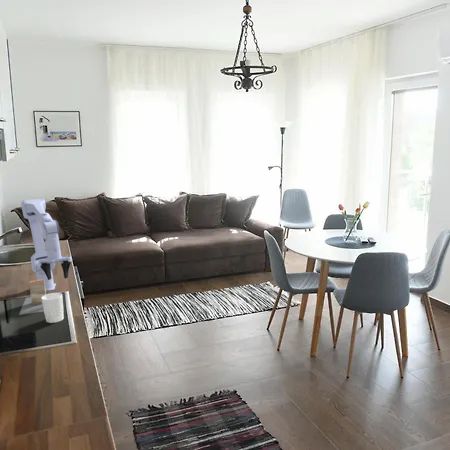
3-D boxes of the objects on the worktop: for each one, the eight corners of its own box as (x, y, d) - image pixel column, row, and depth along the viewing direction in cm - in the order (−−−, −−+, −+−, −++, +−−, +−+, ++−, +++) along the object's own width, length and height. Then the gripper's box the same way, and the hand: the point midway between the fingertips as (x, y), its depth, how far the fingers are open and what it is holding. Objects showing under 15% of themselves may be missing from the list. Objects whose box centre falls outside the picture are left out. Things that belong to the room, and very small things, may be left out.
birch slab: (32, 302, 207) (29, 281, 205) (47, 300, 208) (44, 279, 206) (32, 304, 204) (28, 283, 202) (46, 302, 205) (43, 281, 203)
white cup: (40, 322, 184) (36, 299, 182) (53, 315, 191) (50, 292, 189) (56, 324, 181) (53, 300, 179) (69, 316, 189) (66, 293, 187)
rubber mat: (26, 298, 214) (25, 297, 214) (57, 294, 217) (57, 293, 217) (19, 315, 193) (18, 314, 193) (54, 310, 197) (54, 309, 196)
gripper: (33, 251, 200) (38, 282, 202) (65, 248, 199) (69, 279, 201) (40, 248, 207) (45, 278, 209) (71, 245, 206) (76, 275, 208)
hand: (58, 278), depth 205 cm, fingers open, 7 cm apart
